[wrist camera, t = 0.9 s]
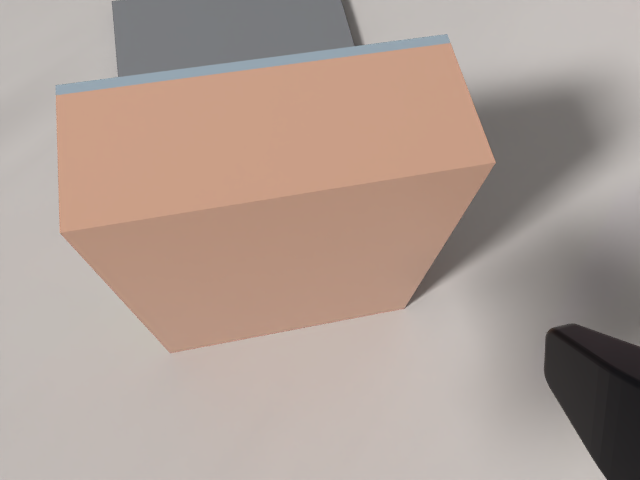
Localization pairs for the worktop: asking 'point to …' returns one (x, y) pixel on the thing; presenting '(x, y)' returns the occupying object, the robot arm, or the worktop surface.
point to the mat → (222, 31)
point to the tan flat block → (269, 185)
